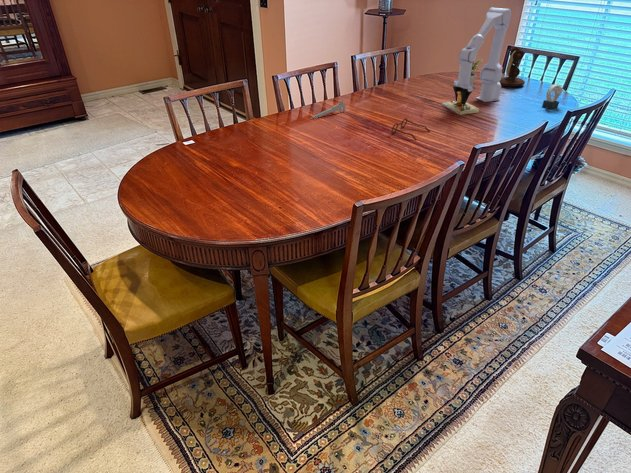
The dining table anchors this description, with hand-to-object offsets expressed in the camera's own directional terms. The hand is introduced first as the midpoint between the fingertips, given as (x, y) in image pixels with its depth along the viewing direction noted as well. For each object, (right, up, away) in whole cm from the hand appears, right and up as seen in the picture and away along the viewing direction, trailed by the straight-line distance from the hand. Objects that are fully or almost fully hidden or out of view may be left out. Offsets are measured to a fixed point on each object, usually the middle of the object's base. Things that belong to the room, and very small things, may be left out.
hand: (460, 102), depth 220 cm
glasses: (-31, -22, -24) cm, 45 cm away
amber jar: (0, -1, +1) cm, 2 cm away
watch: (+44, -3, -2) cm, 45 cm away
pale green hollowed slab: (0, -3, +2) cm, 3 cm away
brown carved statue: (+40, +20, +34) cm, 56 cm away
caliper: (-67, -7, +1) cm, 68 cm away
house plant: (+17, +21, +36) cm, 45 cm away
